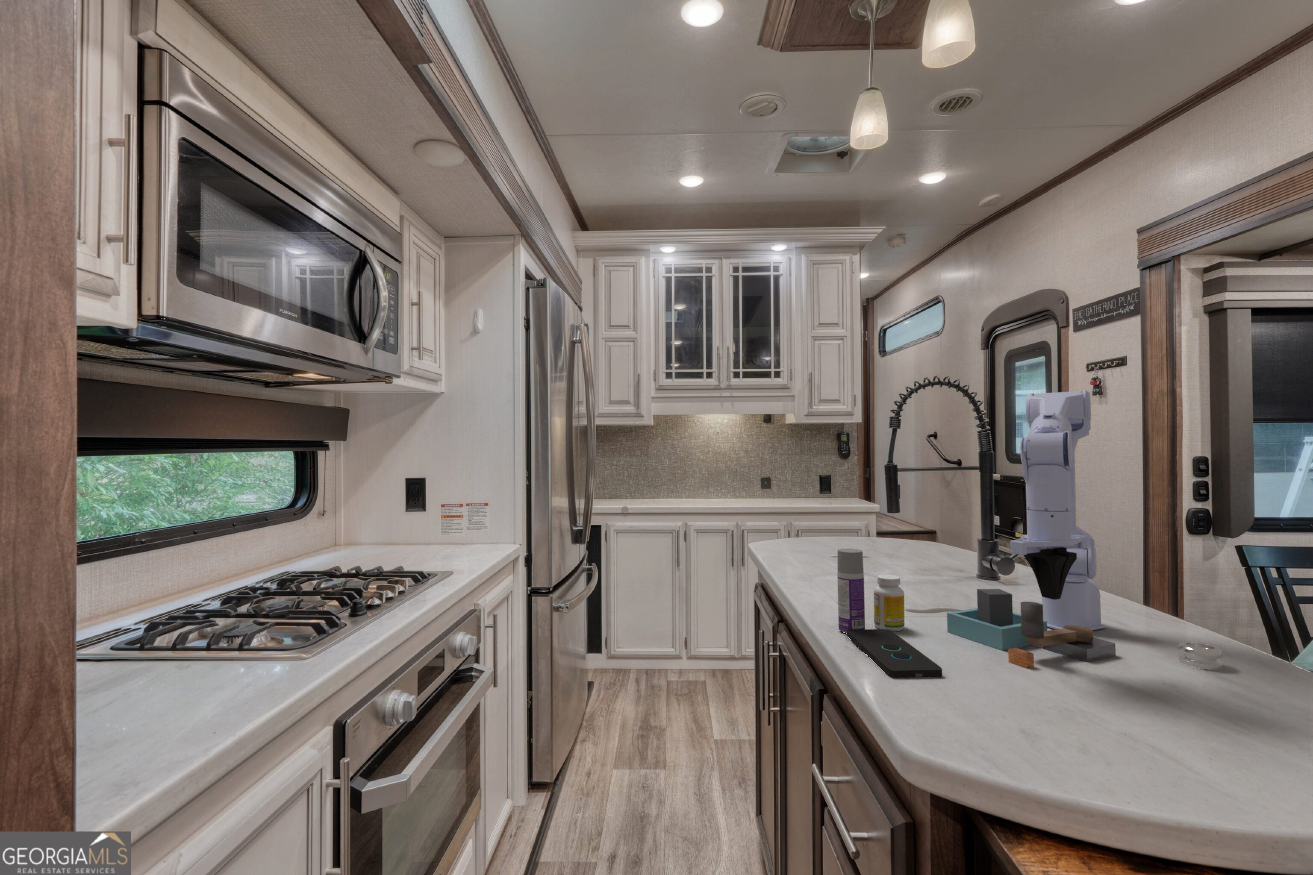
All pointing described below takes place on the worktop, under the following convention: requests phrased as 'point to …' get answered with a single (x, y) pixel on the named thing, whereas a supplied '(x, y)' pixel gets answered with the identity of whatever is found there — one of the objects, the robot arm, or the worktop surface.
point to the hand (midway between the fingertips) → (1051, 597)
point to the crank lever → (1038, 637)
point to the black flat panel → (894, 654)
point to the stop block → (995, 607)
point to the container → (850, 590)
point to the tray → (987, 630)
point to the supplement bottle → (889, 603)
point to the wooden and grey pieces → (1067, 651)
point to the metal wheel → (1200, 655)
